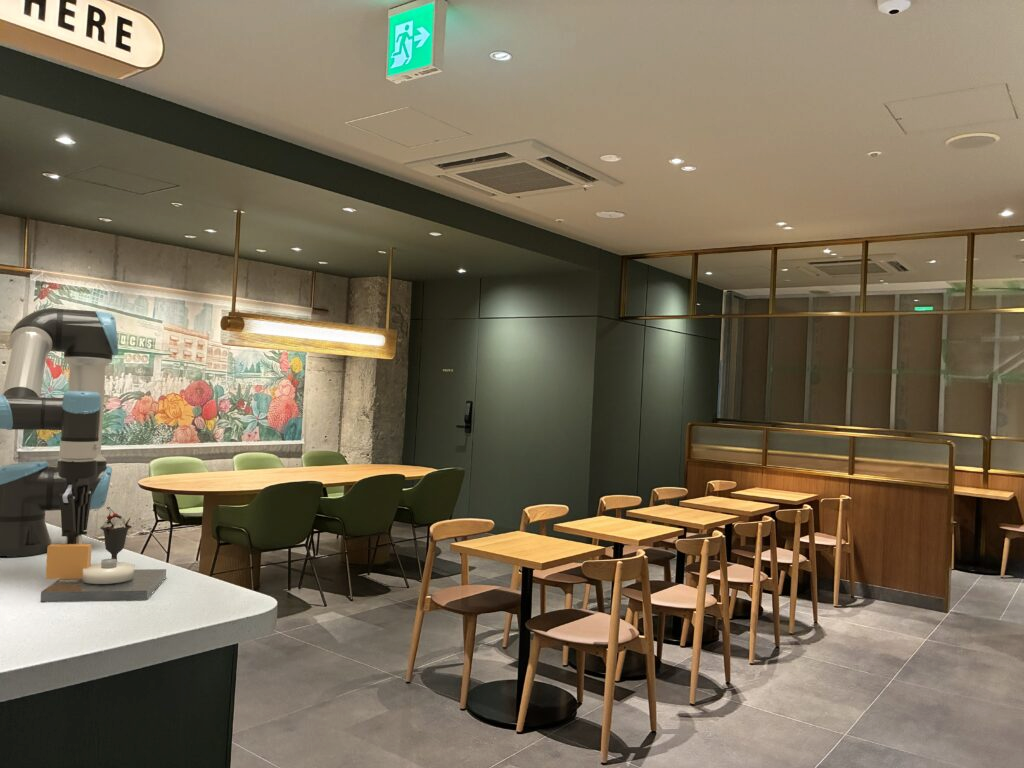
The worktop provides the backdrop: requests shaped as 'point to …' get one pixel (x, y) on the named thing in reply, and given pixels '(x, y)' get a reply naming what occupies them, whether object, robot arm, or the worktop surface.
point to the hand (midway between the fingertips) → (72, 564)
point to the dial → (84, 565)
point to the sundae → (115, 533)
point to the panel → (106, 588)
